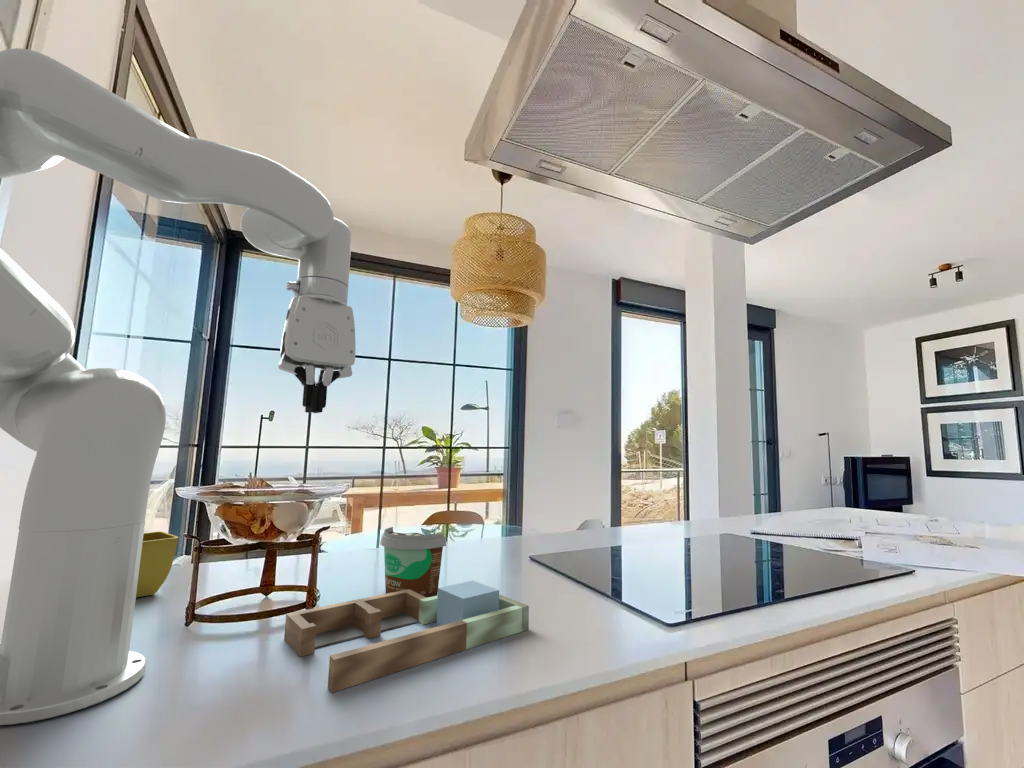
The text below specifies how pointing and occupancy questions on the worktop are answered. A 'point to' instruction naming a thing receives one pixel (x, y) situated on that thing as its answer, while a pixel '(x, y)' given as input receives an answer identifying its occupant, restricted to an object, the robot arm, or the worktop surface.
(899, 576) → the worktop surface
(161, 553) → the flower pot
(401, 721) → the worktop surface
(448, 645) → the wood and green frame
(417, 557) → the food container
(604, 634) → the worktop surface
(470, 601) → the block
